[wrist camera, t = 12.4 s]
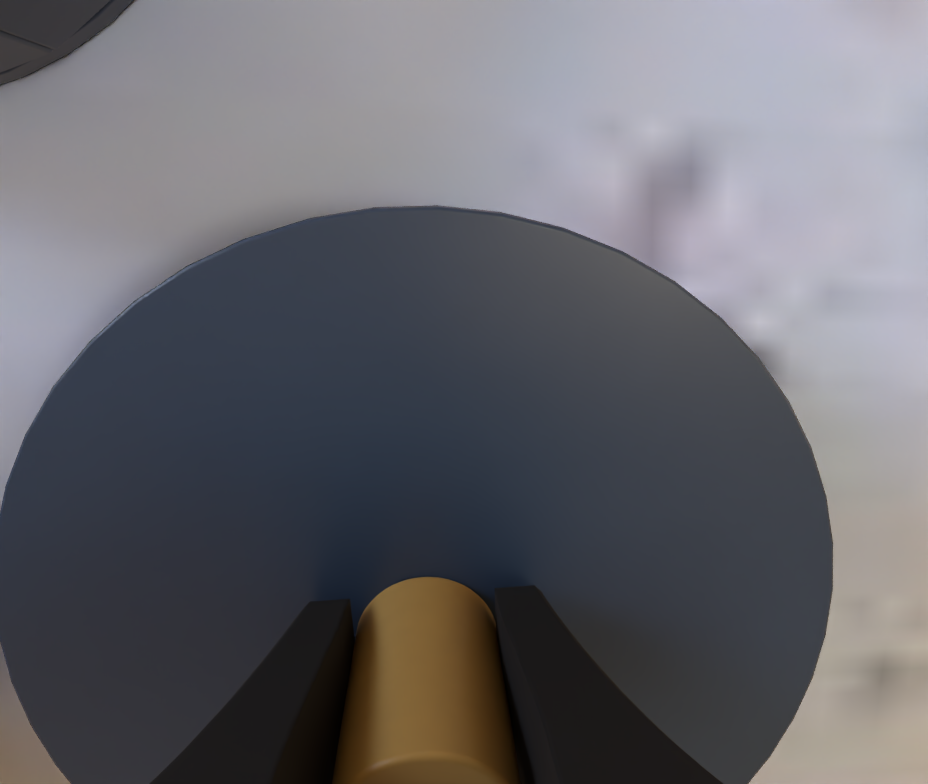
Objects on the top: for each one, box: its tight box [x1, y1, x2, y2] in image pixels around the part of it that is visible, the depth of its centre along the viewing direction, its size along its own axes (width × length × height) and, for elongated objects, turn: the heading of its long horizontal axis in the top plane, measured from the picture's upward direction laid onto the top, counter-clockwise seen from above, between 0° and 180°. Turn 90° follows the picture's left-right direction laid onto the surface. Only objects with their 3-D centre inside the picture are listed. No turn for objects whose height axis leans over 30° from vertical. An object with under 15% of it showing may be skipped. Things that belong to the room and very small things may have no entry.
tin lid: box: [0, 205, 833, 784], centre depth 9 cm, size 13×13×4 cm
